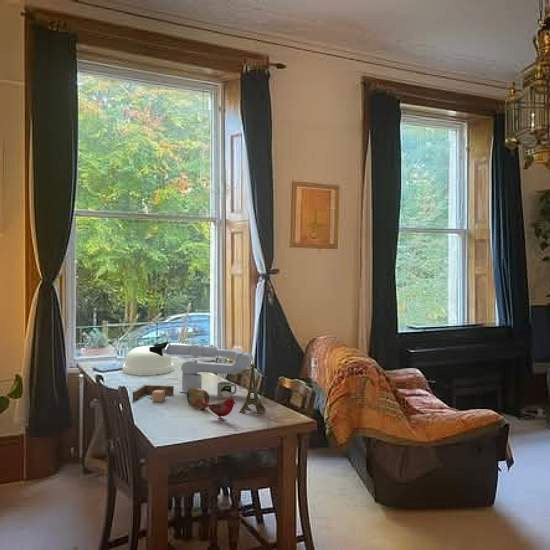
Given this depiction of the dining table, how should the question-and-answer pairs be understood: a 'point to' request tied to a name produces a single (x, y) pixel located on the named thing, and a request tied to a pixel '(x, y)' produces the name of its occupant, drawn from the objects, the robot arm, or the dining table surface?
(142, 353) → the dome cover
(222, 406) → the decorative bird figurine
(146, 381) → the dining table surface
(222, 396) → the mug
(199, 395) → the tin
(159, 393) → the cube
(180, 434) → the dining table surface
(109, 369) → the dining table surface
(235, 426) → the dining table surface
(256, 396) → the eiffel tower
